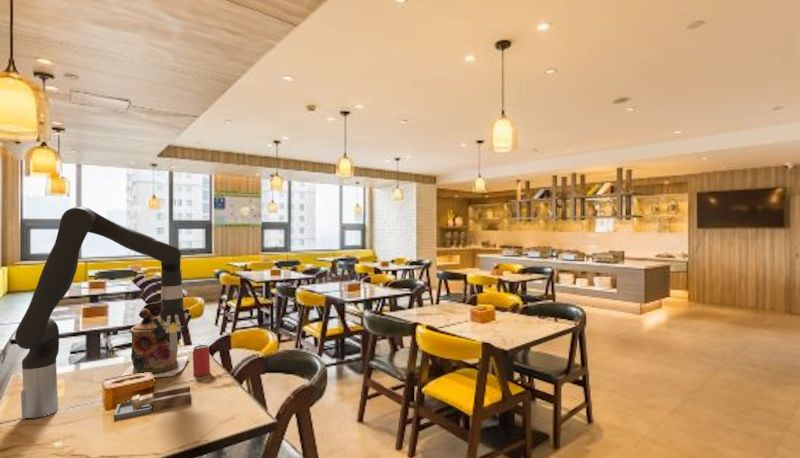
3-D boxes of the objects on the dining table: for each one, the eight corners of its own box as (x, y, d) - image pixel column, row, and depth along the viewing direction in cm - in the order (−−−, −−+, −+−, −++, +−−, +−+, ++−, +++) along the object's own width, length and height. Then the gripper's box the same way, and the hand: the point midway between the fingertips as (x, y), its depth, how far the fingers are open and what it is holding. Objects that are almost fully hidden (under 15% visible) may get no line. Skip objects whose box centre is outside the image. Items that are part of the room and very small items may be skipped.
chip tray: (113, 420, 143) (113, 415, 143) (118, 406, 154) (118, 402, 154) (151, 412, 148) (151, 408, 148) (153, 400, 159) (153, 396, 159)
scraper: (170, 351, 163) (169, 325, 163) (170, 348, 167) (169, 322, 167) (177, 350, 164) (176, 324, 164) (177, 347, 168) (176, 322, 168)
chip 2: (140, 406, 150) (139, 400, 150) (141, 402, 154) (140, 396, 154) (153, 402, 152) (152, 396, 152) (153, 398, 156) (152, 393, 155)
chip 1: (140, 409, 150) (133, 411, 149) (141, 405, 154) (134, 407, 153) (138, 398, 150) (131, 400, 149) (139, 394, 154) (132, 396, 153)
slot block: (152, 411, 150) (152, 401, 150) (154, 401, 158) (153, 392, 158) (190, 403, 155) (190, 394, 155) (190, 394, 164) (190, 385, 164)
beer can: (198, 377, 182) (197, 349, 182) (190, 374, 186) (189, 347, 186) (213, 373, 187) (212, 346, 187) (205, 370, 191) (204, 343, 191)
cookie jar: (133, 365, 201) (130, 298, 201) (190, 359, 208) (188, 294, 208) (114, 384, 177) (111, 307, 177) (179, 376, 184) (177, 303, 184)
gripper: (150, 300, 159) (152, 346, 159) (192, 296, 165) (193, 340, 166) (152, 297, 166) (153, 341, 166) (191, 293, 172) (193, 336, 172)
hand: (173, 341), depth 166 cm, fingers closed on scraper, 2 cm apart
